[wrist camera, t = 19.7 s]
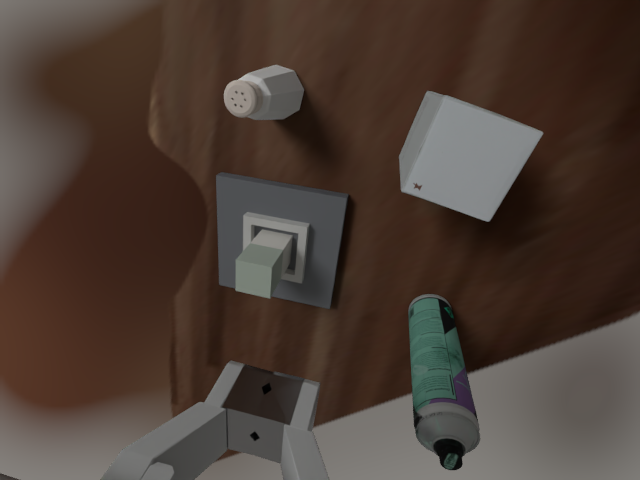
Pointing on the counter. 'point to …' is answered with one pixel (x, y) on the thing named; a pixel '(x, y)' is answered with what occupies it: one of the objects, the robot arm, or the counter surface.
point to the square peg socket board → (283, 217)
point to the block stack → (263, 263)
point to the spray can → (440, 383)
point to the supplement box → (463, 155)
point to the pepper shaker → (265, 94)
